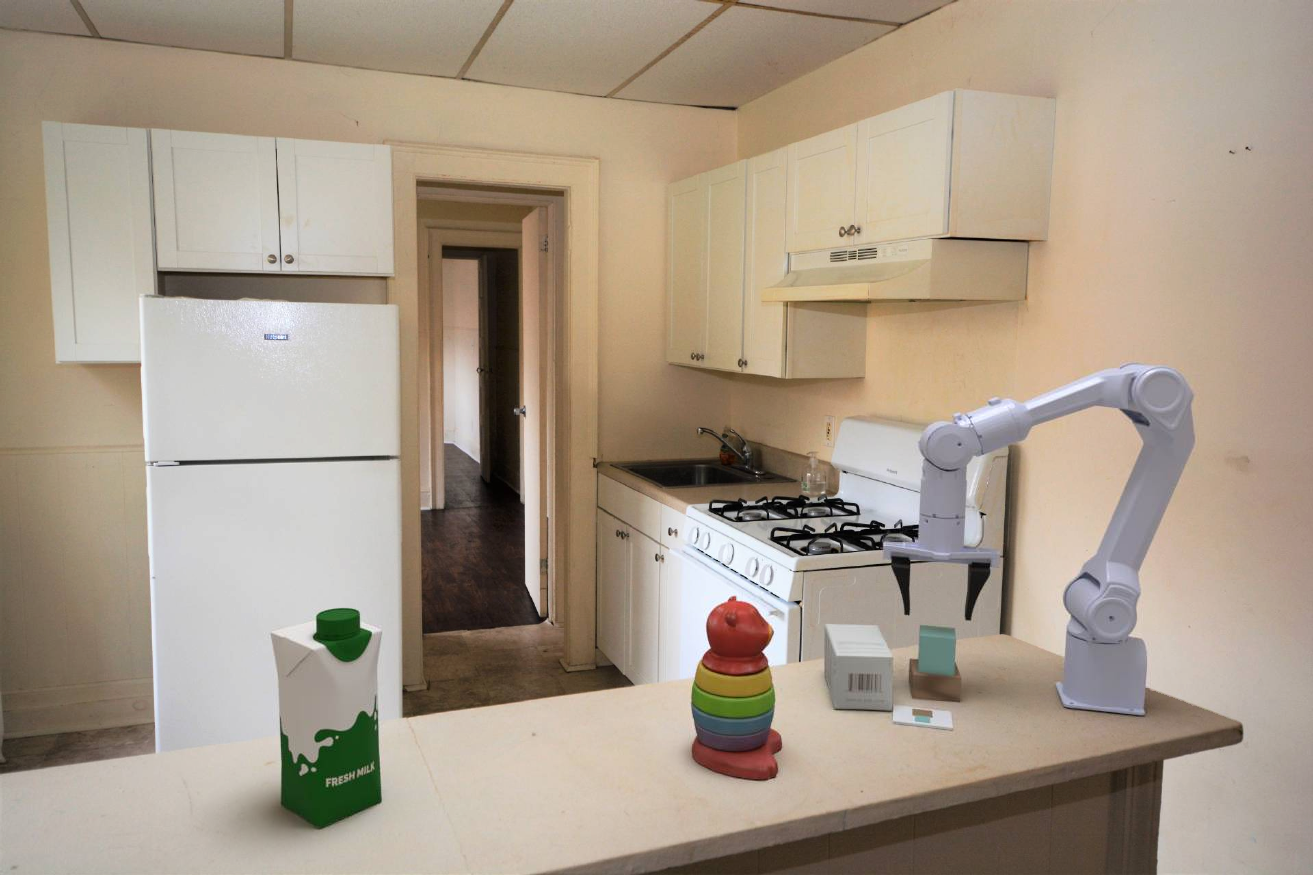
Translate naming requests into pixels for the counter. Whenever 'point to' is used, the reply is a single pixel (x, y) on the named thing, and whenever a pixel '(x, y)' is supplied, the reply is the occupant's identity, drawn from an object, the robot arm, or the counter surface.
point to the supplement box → (858, 667)
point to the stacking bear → (735, 695)
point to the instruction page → (922, 717)
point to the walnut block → (934, 685)
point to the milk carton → (328, 716)
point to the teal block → (936, 650)
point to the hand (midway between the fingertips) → (937, 615)
